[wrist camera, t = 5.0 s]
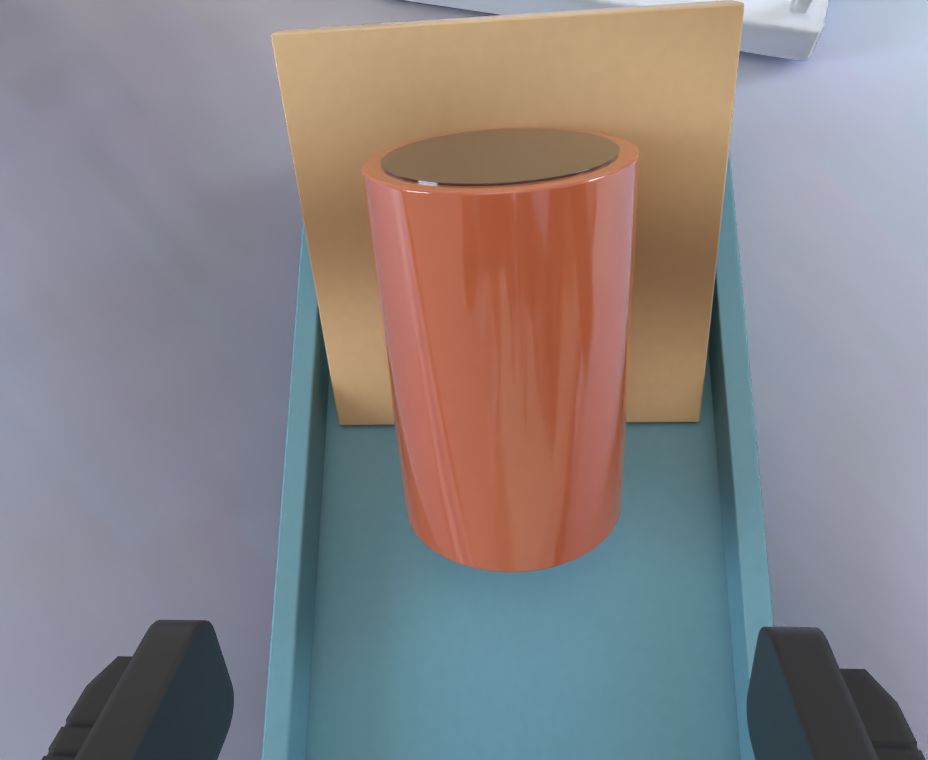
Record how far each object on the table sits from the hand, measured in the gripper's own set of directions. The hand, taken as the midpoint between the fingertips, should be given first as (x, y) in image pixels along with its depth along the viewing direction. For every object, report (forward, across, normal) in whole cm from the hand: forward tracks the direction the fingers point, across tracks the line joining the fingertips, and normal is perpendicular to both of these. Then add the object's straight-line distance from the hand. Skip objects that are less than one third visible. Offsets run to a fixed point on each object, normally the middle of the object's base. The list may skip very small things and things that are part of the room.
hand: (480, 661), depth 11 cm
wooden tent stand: (+17, 0, -2) cm, 17 cm away
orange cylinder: (+14, 0, -4) cm, 15 cm away
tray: (+13, 0, -6) cm, 14 cm away
